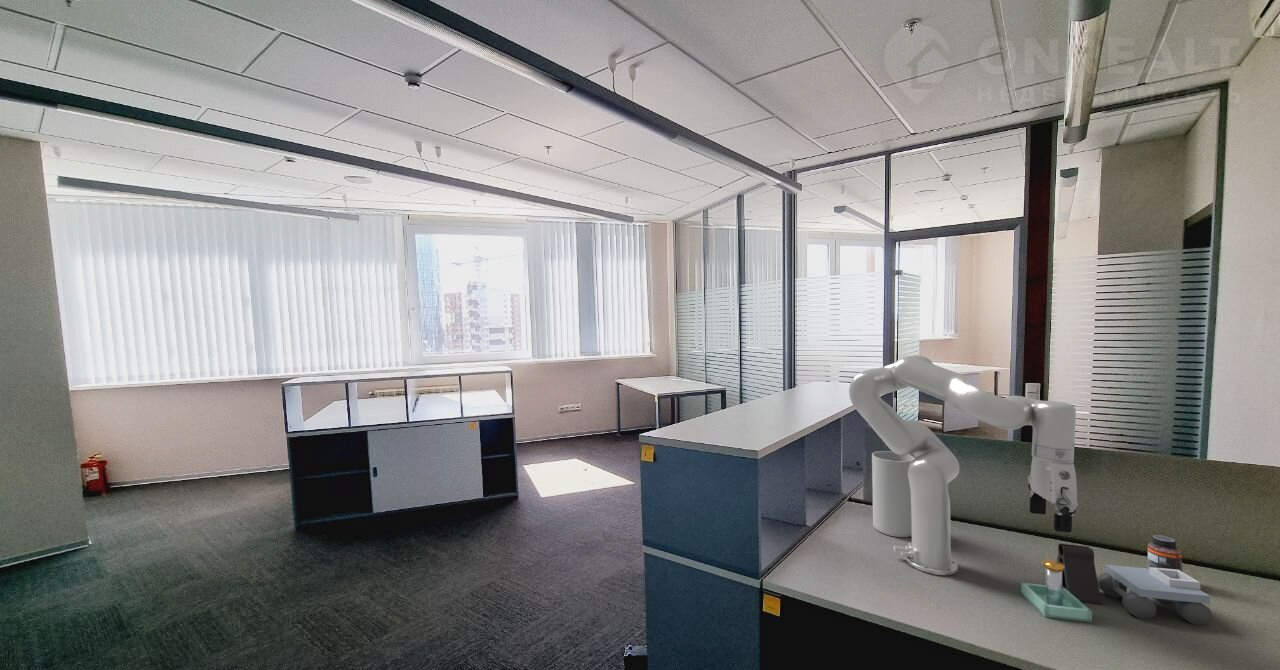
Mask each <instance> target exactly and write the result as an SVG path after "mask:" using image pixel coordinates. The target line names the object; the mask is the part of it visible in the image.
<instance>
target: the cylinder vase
mask: <svg viewBox="0 0 1280 670" xmlns="http://www.w3.org/2000/svg"><path fill="white" fill-rule="evenodd" d="M914 459H915V457H914V456H913V455H912V454H910V455H907V456H900V455H897V454H895V453H894V452H893V451H891V450H880V451H879V450H878V451H874V452H872V453H871V470H872V471H871V472H872V473H871V476H872V478H871V479H872V483H871V484H872V525H873V528H874V529H875V530H877V531H878V532H880V533H882V534H884V535H887V536H891V537H895V538H910V537H912V528H911V492H910V485H909V479H908V468H909V465H910V463H911V462H912V461H913V460H914Z"/></svg>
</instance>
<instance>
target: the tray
mask: <svg viewBox="0 0 1280 670" xmlns="http://www.w3.org/2000/svg"><path fill="white" fill-rule="evenodd" d="M1020 586H1021V587H1020V589H1021V590H1020V593H1021V594H1022V595H1023V596H1024V597H1025V599H1027V600H1028V601H1029V603H1031V604H1032V605H1033V606H1034V608H1036V610H1038V612H1040V614H1042V616H1043V617H1044V618H1049V619H1059V620H1066V621H1067V620H1068V621H1075V622H1076V621H1077V622H1085V623H1093V611H1092V610H1091V609H1090V608H1089V607H1087V605H1085V604H1084V602H1081V601H1079V600H1078V599H1077V598H1076V597H1075V596H1073V595H1072V594H1071V593H1070V592H1069V591H1068V590H1066V589H1065V588H1064V587H1063V606H1056V605H1049V604H1047V602H1046V584H1039V583H1037V584H1036V583H1030V582H1029V583H1028V582H1020Z"/></svg>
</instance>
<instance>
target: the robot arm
mask: <svg viewBox="0 0 1280 670" xmlns="http://www.w3.org/2000/svg"><path fill="white" fill-rule="evenodd" d="M906 388H912V389H915V390H916V391H919V392H921V393H924V394H926V395H929V396H932V397H934V398H936V399H938V400H941V401H943V402H946V403H947V404H948V405H950V406H951V407H953V408H955V409H956V410H958V411H960V412H961V413H963V414H965V415H967V416H969V417H971V418H973V419H976V420H978V421H980V422H982V423H985V424H988V425H990V426H993V427H995V428H998V429H1002V430H1006V431H1013V430H1014V431H1015V430H1019V429H1021V428H1023V427H1024V426H1032V443H1031V456H1032V459H1031V466H1030V475H1028V476H1027V481H1028V485H1027V487H1028V488H1029V492H1028V495H1029V513H1031V514H1036V515H1046V512H1047V501H1048V502H1049V503H1051V504H1052V505H1053V507H1054V509H1055V512H1056V513H1053V530H1054V531H1055V532H1059V533H1060V532H1062V533H1071V532H1072V531H1073V530H1072V529H1073V525H1072V524H1073V517H1074V516H1075V513H1076V511H1077V507H1078V506H1079V503H1078V500H1077V499H1078V498H1077V497H1078V490H1077V489H1078V488H1077V474H1076V468H1075V467H1076V466H1075V464H1074V461H1075V442H1076V441H1075V437H1076V422H1077V421H1076V417H1077V413H1076V408H1075V407H1074V405H1072V404H1071V403H1067V402H1064V401H1063V402H1062V401H1057V400H1056V401H1055V400H1041V399H1035V398H1031V397H1030V398H1029V397H1026V396H1021V395H1008V396H1006V397H1001V396H999V395H995V394H993V393H990V392H988V391H985V390H983V389H980V388H978V387H976V386H974V385H973V384H971V383H970V382H969V381H967V379H966V378H965V376H964V375H962V374H961V373H958V372H957V371H953V370H950V369H948V368H944V367H941V366H940V365H936V364H934V363H933V361H932V360H930V358H928V357H926V356H924V355H921V354H915V355H914V354H913V355H907V356H902V357H901V358H899V359H897V360H896V361H895V362H894V363H890V364H888V365H885V366H884V365H883V366H882V367H877V368H871V369H865V370H862V371H860V372H858V373H856V375H854V376H853V378H852V379H851V381H850V383H849V389H848V395H849V399H850V402H851V404H852V406H853V407H854V409H855V410H856V411H857V412H858V414H859V415H860V416H861V417H862V418H863V419H864V420H865V422H867V424H868V425H869V426H870V427H871V429H872V430H873V431H874V433H876V434H877V436H878V437H879V438H880V439H881V440H882V441H883V443H884V444H885V446H887V447H888V449H889V450H890V451H893V452H894V453H895V454H897V455H900V456H907V455H911V456H913V457H914V458H915V459H914V460H913V461H912V462H911V463H910V465H909V468H908V479H909V485H910V492H911V528H912V536H911V542H909V541H908V544H907V545H904V546H901V545H895V544H894V545H893V546H892V547H893V551H894V553H895V554H896V553H897V554H898V553H899V554H900V556H901V557H905V560H906V561H907V563H908V564H909V565H910V566H912V568H915V569H917V570H918V571H921V572H925V573H926V574H927V573H928V574H931V575H936V576H951V575H954V574H955V575H956V573H957V572H958V570H959V567H958V564H957V561H955V560H954V559H952V547H951V546H952V545H951V543H952V541H951V538H952V537H951V536H952V533H951V530H952V529H951V501H950V495H949V489H948V484H949V483H950V482H952V481H953V480H954V479H956V477H957V476H958V475H959V472H960V463H959V461H958V459H957V458H956V456H955V455H954V454H953V452H952V451H951V450H950V449H949V448H948V446H946V445H945V444H944V443H943V442H942V440H940V438H939V437H938V436H937V435H936V434H935V433H934V432H933V431H932V430H931V429H930V428H929V427H928V426H927V425H925V424H924V423H923V422H921V421H918V420H915V419H905V420H904V419H903V418H902V417H901V415H899V413H898V412H897V411H896V410H895V409H894V408H893V407H892V406H891V405H890V404H888V403H887V402H886V401H885V400H883V399H882V398H881V396H883V395H886V394H890V393H893V392H896V391H900V390H903V389H906ZM1061 506H1063V507H1062V508H1061Z"/></svg>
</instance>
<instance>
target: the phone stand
mask: <svg viewBox="0 0 1280 670" xmlns="http://www.w3.org/2000/svg"><path fill="white" fill-rule="evenodd" d="M1057 549H1058V550H1057V552H1058V553H1057V558H1056V561H1059V562H1061V563H1063V564H1064V565H1065V570H1064V571H1062V587H1064V588H1065V589H1066V590H1068V591H1069V592H1070V593H1071V594H1072V595H1073V596H1075V597H1076V598H1077V599H1078V600H1079V601H1080V602H1081V603H1087V602H1088V603H1089V604H1095V605H1102V604H1103V603H1102V598H1101V592H1100V591H1101V590H1100V589H1099V586H1098V580H1097V577H1098V575H1097V571H1096V564H1095V552H1094V550H1093V548H1091V547H1090V546H1086V545H1084V546H1083V545H1074V544H1068V543H1058V545H1057Z"/></svg>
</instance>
